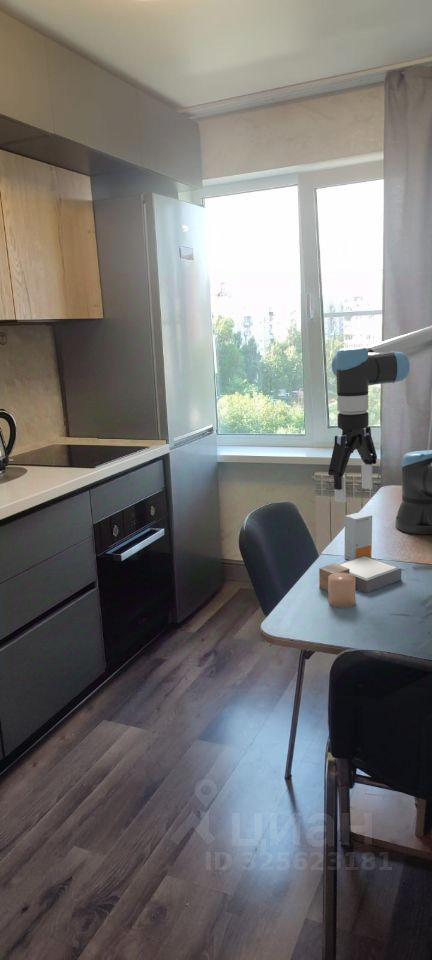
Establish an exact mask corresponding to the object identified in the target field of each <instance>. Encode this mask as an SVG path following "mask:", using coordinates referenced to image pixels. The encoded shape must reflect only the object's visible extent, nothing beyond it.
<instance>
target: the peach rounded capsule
mask: <svg viewBox="0 0 432 960" xmlns="http://www.w3.org/2000/svg"><path fill="white" fill-rule="evenodd" d="M327 593H328V596H327V597H328V601H327V602H328V604H329V605H330V606H331V607H334V608H339V609H346V608H351V607H353V606H355V605H356V588H355V576H354V575H352V574H349V573H333V574H331V575H329V576H328V591H327Z"/></svg>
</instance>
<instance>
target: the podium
mask: <svg viewBox="0 0 432 960" xmlns="http://www.w3.org/2000/svg"><path fill="white" fill-rule="evenodd" d="M337 564H338V565H341V566H343V567H346V568H349V569H350V574H352V575H354V576H355V590H358V591H361V592H363V593H366V594H368V593H369V592H372V591H375V590H377V589H380V588H383V587H385V586H389V585H390V584H393V583H395V582H399V581H401V580H402V567H399V566H397V565H394V564H391V563H387V562H385V561H383V560H379V559H376V558H374V557H372V556H371V557H368V556H365V555H364V556H361V557H358V558H355V559H352V560H346V561H343V562H340V563H337Z"/></svg>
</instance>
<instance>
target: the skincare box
mask: <svg viewBox="0 0 432 960" xmlns="http://www.w3.org/2000/svg"><path fill="white" fill-rule="evenodd" d="M372 542H373V515H372V514H369V513H366V512H363V511H360V512H355V513H351V514H346V515H344V559H346V560H347V561H349V560H352V559H355V558H358V557H361V556H364V555H365V556H368V557H371V558H372V551H373V550H372V547H373V545H372V544H373V543H372Z"/></svg>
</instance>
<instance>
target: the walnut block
mask: <svg viewBox="0 0 432 960" xmlns="http://www.w3.org/2000/svg"><path fill="white" fill-rule="evenodd" d="M338 564H339V563H330V564H328V565H325V566H321V567H319V568H318V571H319V572H318V576H319V578H318V579H319V581H318V582H319V583H318V585H319V586H318V587H319V588H320V589H322V590H325V592H326V591H327V592H328V576H329V575H331V574H333V573H349V574H350V569H349V568H346V567H343V566H341V565H338Z"/></svg>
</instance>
